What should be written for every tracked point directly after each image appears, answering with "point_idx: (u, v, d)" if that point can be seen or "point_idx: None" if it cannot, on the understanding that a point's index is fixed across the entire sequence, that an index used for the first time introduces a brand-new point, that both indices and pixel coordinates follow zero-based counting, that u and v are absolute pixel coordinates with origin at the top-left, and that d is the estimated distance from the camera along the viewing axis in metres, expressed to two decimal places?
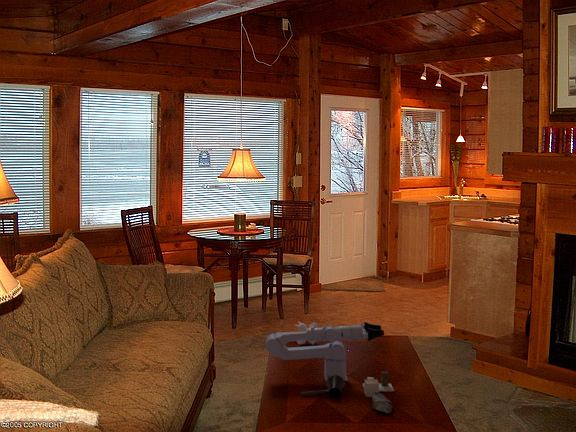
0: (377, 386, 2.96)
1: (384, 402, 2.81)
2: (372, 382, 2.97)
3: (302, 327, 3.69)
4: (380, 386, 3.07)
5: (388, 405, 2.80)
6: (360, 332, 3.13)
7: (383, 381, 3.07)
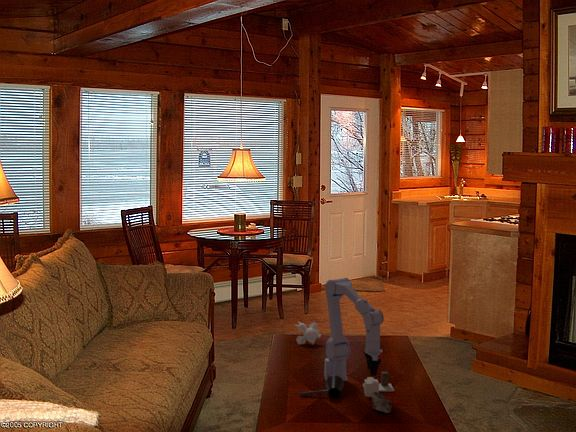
0: (377, 386, 2.96)
1: (384, 402, 2.81)
2: (372, 382, 2.97)
3: (302, 327, 3.69)
4: (380, 386, 3.07)
5: (388, 405, 2.80)
6: (374, 350, 2.94)
7: (383, 381, 3.07)
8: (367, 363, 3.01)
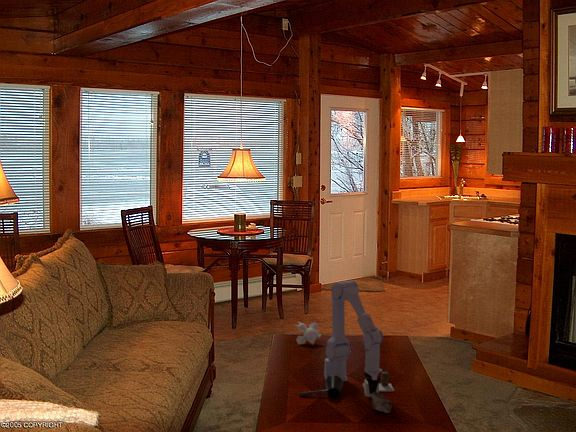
0: (377, 386, 2.96)
1: (384, 402, 2.81)
2: None
3: (302, 327, 3.69)
4: (380, 386, 3.07)
5: (387, 405, 2.80)
6: (374, 370, 2.95)
7: (383, 381, 3.07)
8: None
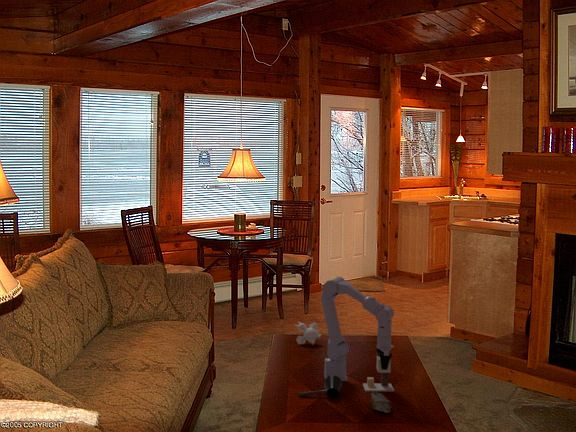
0: (389, 362, 3.03)
1: (383, 402, 2.81)
2: None
3: (302, 327, 3.69)
4: (380, 386, 3.07)
5: (387, 405, 2.80)
6: (386, 346, 3.02)
7: (383, 381, 3.07)
8: None
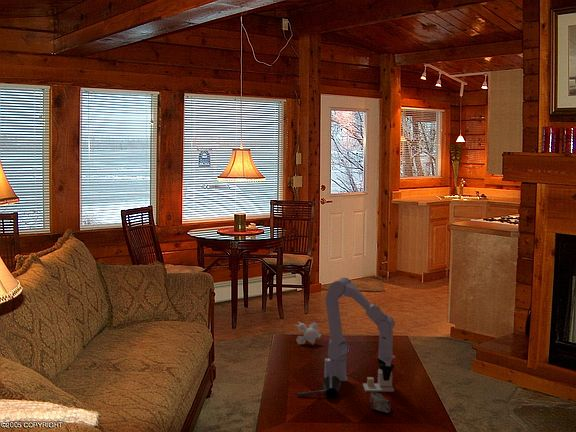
0: (390, 376, 3.05)
1: (383, 402, 2.81)
2: None
3: (302, 327, 3.69)
4: (380, 386, 3.07)
5: (387, 405, 2.80)
6: (387, 356, 3.04)
7: None
8: (380, 368, 3.11)
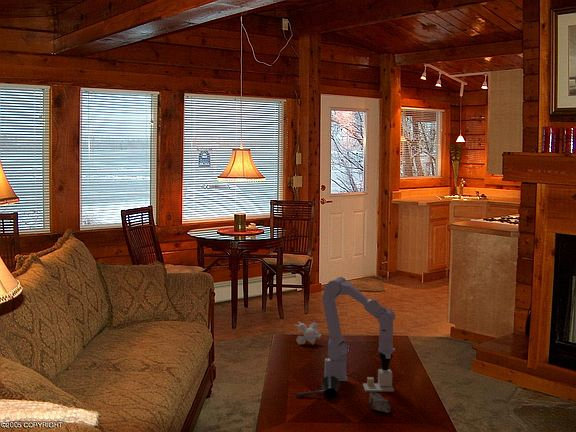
0: (390, 376, 3.05)
1: (383, 402, 2.81)
2: (385, 372, 3.07)
3: (302, 327, 3.69)
4: (380, 386, 3.07)
5: (387, 405, 2.80)
6: (387, 349, 3.04)
7: None
8: (381, 364, 3.08)
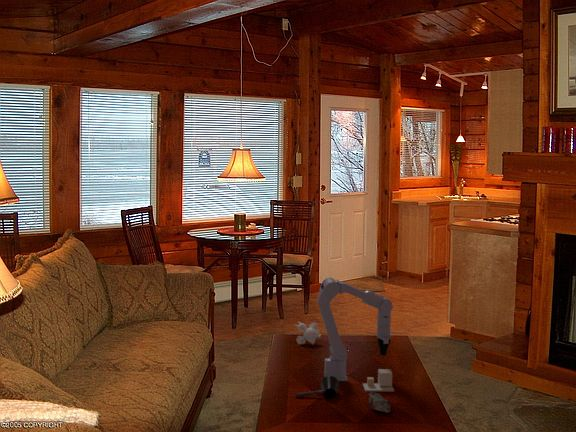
0: (390, 376, 3.05)
1: (383, 402, 2.81)
2: (385, 372, 3.07)
3: (302, 327, 3.69)
4: (380, 386, 3.07)
5: (387, 405, 2.80)
6: (385, 334, 3.16)
7: None
8: (379, 349, 3.19)
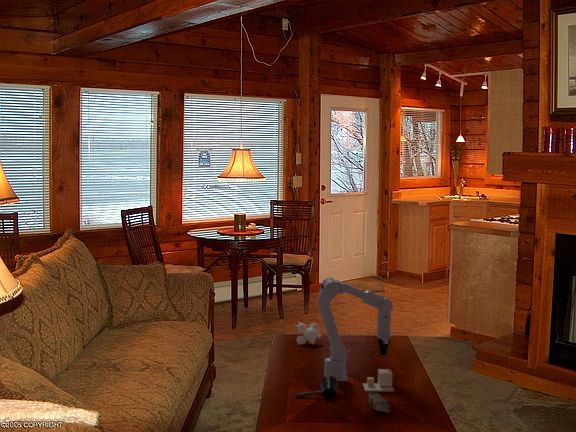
0: (390, 376, 3.05)
1: (383, 402, 2.81)
2: (385, 372, 3.07)
3: (302, 327, 3.69)
4: (380, 386, 3.07)
5: (387, 405, 2.80)
6: (385, 334, 3.16)
7: None
8: (379, 349, 3.19)
